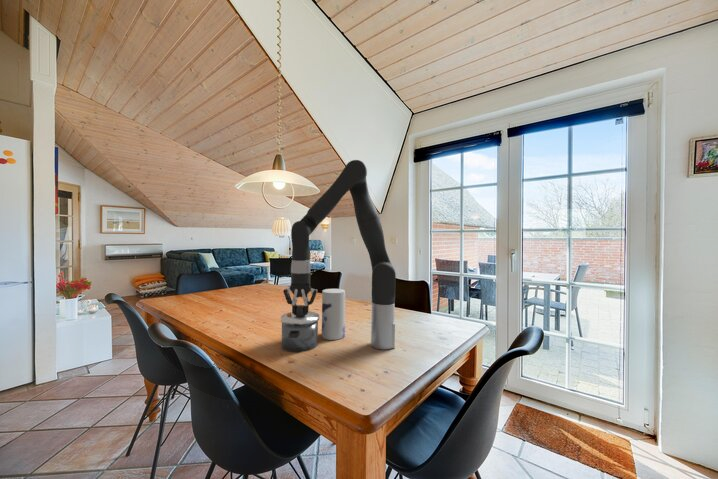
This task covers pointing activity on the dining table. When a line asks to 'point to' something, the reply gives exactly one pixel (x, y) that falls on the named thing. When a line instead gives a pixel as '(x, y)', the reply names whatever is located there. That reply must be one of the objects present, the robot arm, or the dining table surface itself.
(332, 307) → the container
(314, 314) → the lid
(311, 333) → the dark grey rounded piece
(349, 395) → the dining table surface
